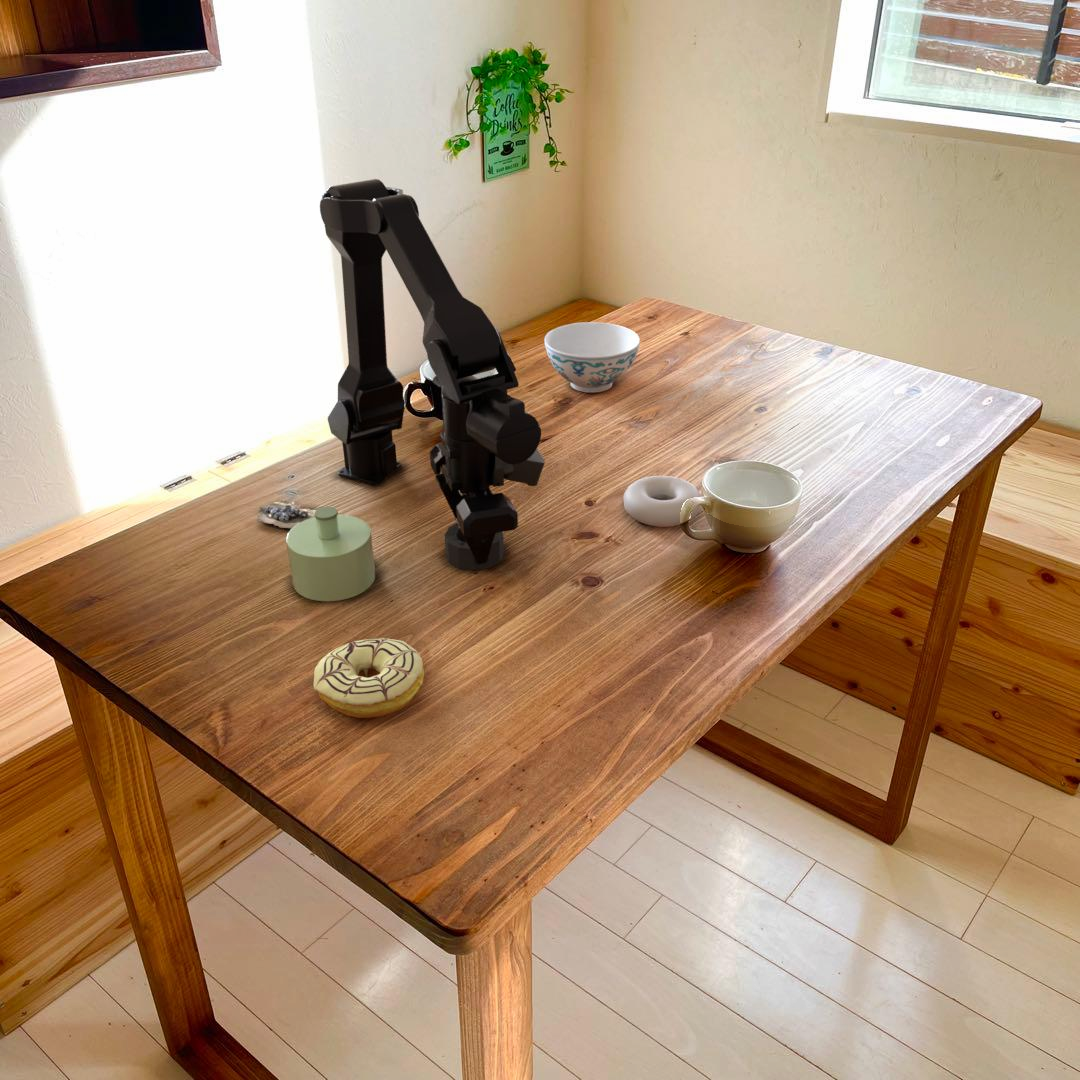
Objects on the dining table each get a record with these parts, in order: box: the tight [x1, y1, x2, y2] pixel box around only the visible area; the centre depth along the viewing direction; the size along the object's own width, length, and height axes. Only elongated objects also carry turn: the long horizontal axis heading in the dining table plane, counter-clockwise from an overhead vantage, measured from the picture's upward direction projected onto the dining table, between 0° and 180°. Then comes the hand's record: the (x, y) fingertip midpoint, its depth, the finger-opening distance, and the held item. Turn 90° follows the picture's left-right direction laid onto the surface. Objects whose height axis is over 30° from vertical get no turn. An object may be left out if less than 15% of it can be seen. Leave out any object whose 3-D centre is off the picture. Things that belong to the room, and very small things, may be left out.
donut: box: [622, 475, 702, 528], centre depth 141 cm, size 10×4×10 cm
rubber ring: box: [444, 522, 505, 572], centre depth 133 cm, size 7×7×3 cm
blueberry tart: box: [256, 500, 316, 530], centre depth 141 cm, size 7×8×2 cm
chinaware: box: [543, 321, 641, 393], centre depth 175 cm, size 15×15×8 cm
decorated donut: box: [313, 637, 425, 719], centre depth 111 cm, size 10×11×4 cm
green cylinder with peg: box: [285, 506, 376, 602], centre depth 127 cm, size 10×10×9 cm
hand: (474, 547), depth 133 cm, fingers closed on rubber ring, 7 cm apart
